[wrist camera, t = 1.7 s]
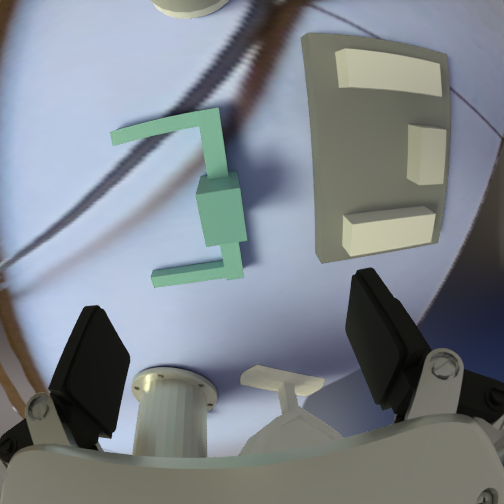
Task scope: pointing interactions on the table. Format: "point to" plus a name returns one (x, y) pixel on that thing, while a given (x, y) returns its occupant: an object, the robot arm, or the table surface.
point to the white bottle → (188, 7)
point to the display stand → (376, 143)
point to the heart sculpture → (286, 412)
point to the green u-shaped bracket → (203, 197)
